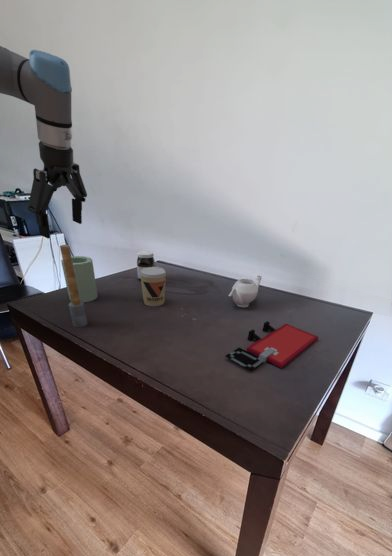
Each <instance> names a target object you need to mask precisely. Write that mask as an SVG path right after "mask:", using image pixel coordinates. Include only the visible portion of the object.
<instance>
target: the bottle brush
mask: <svg viewBox="0 0 392 556" xmlns="http://www.w3.org/2000/svg"><path fill="white" fill-rule="evenodd" d="M59 248H60V253H61V254H60V255H61V260H62V259H63V263H64V268H65V273H66V278H67V283H68V287H69V292H70V297H71V300H70V302H69V303H68V309H69V313H70V318H71V323H72V326H73V327H74V328H84V327H86V326H87V325H88V324H89V322H88V317H87V312H86V307H85V302H82V301H80V298H79V293H78V288H77V283H76V277H75V272H74V267H73V262H72V257H73V256H72V253H71V246H70V245H69V244H61V245H59Z"/></svg>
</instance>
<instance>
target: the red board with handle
mask: <svg viewBox="0 0 392 556" xmlns="http://www.w3.org/2000/svg"><path fill="white" fill-rule="evenodd" d="M270 324H271V323H270V321H268V320H266V321H265V322H263V327H262V332H267V331H270V332H269V333H268V334H266V335H265V336H264V337H262V338H261V337H260V336H259V335H257V334H256V330H255V329H253V328H252V329H251V330H248V334H247V341H252V340H255V342H254V343H252V344H250V345H249V346H246V350H245V349H243V348H242V347H238V348H236V349H234V350H233V351H231V352H229V353H228V354H226V355H225V358H228V359H230V360H231V361H232V362H235V363H237V364H238V365H240V366H242V367H243V368H246V369H247V370H249V371H252V370H253V369H255V368H256V367H258V366H259V365H261V364H266V363H267V362H269V363H270V364H272V365H274V366H276V367H278V368H280V369H283V368H285V366H288V364H289V363H291V362H292V361H293V360H294V359H296V358H297V357H298V356H299V355H300V354H302V353H303V352H304V351H305V350H307V349H308V348H309V347H310V346H311V345H313V344H314V343H316V342H317V341H318V340H319V336H317V335H315V334H312V333H310V332H308V331H305V330H303V329H300V328H298V327H296V326H293V325H290V324H288V323H285V324H283V325H281V326H279V327H278V328H276V329H275V328H274V327H273V326H271V325H270Z"/></svg>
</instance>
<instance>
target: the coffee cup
mask: <svg viewBox="0 0 392 556" xmlns="http://www.w3.org/2000/svg"><path fill="white" fill-rule="evenodd" d="M158 267H159V266H158ZM158 267H157V266H155V267H147V268H143V269H141V271H140V277H141V281H140V285H141V292H142V293H141V294H142V300H143V303H144V305H146V306H148V307H160V306H162V305H164V304H165V302H166V301H165V299H166V283H167V282H166V281H167V280H166V279H167V272H166V269H164V268H162V267H160V268H158Z"/></svg>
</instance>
